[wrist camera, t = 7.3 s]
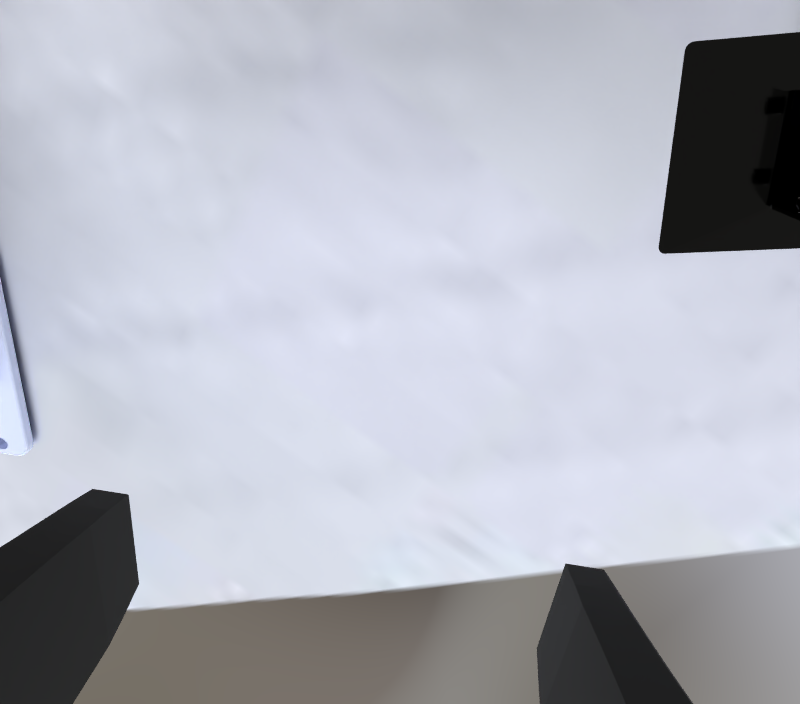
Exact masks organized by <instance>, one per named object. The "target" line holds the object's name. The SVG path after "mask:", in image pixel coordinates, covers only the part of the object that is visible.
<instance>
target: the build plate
mask: <svg viewBox="0 0 800 704" xmlns="http://www.w3.org/2000/svg"><path fill="white" fill-rule="evenodd" d="M792 248H800V32H796V33H785V34H773V35H762V36H751V37H739V38H728V39H717V40H706V41H694V42H691V43H690V44H689V45H688V46H687V47H686V49H685V54H684V62H683V69H682V77H681V84H680V92H679V99H678V107H677V114H676V122H675V129H674V137H673V144H672V152H671V159H670V167H669V174H668V182H667V189H666V197H665V204H664V212H663V219H662V227H661V234H660V242H659V250H660V252H661V253H665V254H666V253H691V252H716V251H742V250H767V249H792Z"/></svg>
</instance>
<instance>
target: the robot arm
mask: <svg viewBox="0 0 800 704" xmlns="http://www.w3.org/2000/svg"><path fill="white" fill-rule="evenodd" d="M3 439H4V440H3ZM32 447H33V438H32V433H31V428H30V423H29V418H28V413H27V408H26V403H25V398H24V393H23V388H22V383H21V378H20V373H19V368H18V364H17V359H16V354H15V349H14V344H13V339H12V334H11V329H10V324H9V319H8V314H7V309H6V304H5V299H4V294H3V289H2V284H1V279H0V453H4V454H10V455H17V456H22V455H24V454H26V453H27V452H28V451H30V450H31V449H32ZM138 585H139V580H138V571H137V563H136V554H135V546H134V537H133V529H132V520H131V512H130V504H129V495H127V494H121V493H115V492H108V491H102V490H96V489H92V490H90V491H89V492H87V493H85V494H84V495H82V496H80V497H79V498H77V499H75V500H74V501H72V502H71V503H69V504H67V505H66V506H64V507H63V508H61V509H59V510H58V511H56V512H55V513H53V514H52V515H50V516H49V517H47V518H45V519H44V520H42V521H41V522H39V523H38V524H36V525H35V526H33V527H31V528H30V529H28V530H27V531H25V532H24V533H22V534H21V535H19V536H17V537H16V538H14V539H13V540H11V541H10V542H8V543H6V544H5V545H3V546H2V547H0V704H73V702H74V701H75V699H76V697H77V696H78V694H79V693H80V691H81V690H82V688H83V687H84V685H85V683H86V682H87V680H88V678H89V677H90V675H91V673H92V672H93V671H94V669H95V667H96V666H97V664H98V663H99V661H100V659H101V658H102V656H103V654H104V653H105V651H106V649H107V648H108V646H109V645H110V643H111V641H112V638H113V636H114V634H115V633H116V631H117V629H118V626H119V625H120V623H121V621H122V619H123V616H124V614H125V612H126V610H127V608H128V606H129V604H130V602H131V600H132V597H133V595H134V593H135V591H136V589H137V587H138ZM537 658H538V680H539V697H540V704H693V703H692V702H691V700H690V699H689V697H688V696H687V694H686V693H685V691H684V690H683V689H682V687H681V686H680V684H679V683H678V681H677V680H676V679H675V677H674V676H673V674H672V673H671V671H670V670H669V668H668V667H667V665H666V664H665V662H664V661H663V659H662V658H661V656H660V655H659V653H658V652H657V650H656V649H655V648H654V646H653V644H652V643H651V641H650V640H649V638H648V637H647V635H646V634H645V632H644V631H643V629H642V628H641V626H640V625H639V623H638V621H637V620H636V618H635V617H634V615H633V614H632V612H631V611H630V609H629V607H628V606H627V604H626V603H625V601H624V600H623V598H622V597H621V595H620V594H619V592H618V590H617V589H616V587H615V586H614V584H613V583H612V581H611V580H610V578H609V577H608V575H607V574H606V572H605V571H604V570H602V569H596V568H590V567H583V566H577V565H571V564H565V567H564V570H563V573H562V576H561V579H560V582H559V585H558V587H557V590H556V593H555V596H554V600H553V602H552V605H551V608H550V611H549V614H548V617H547V620H546V623H545V626H544V629H543V632H542V635H541V638H540V641H539V644H538V647H537Z"/></svg>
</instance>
